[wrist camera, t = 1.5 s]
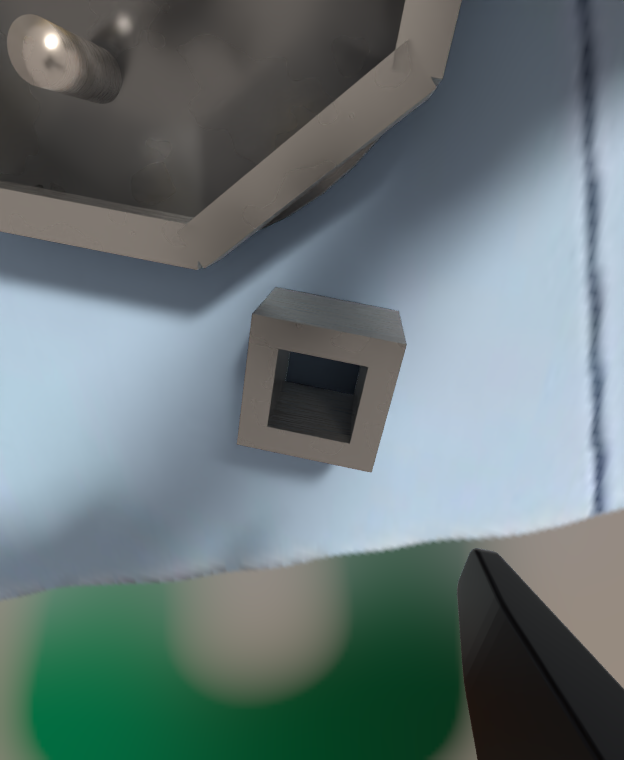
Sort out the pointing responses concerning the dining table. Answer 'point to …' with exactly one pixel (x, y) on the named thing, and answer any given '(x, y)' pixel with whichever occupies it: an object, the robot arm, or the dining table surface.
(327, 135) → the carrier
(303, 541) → the dining table surface
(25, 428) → the dining table surface
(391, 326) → the square pipe segment
